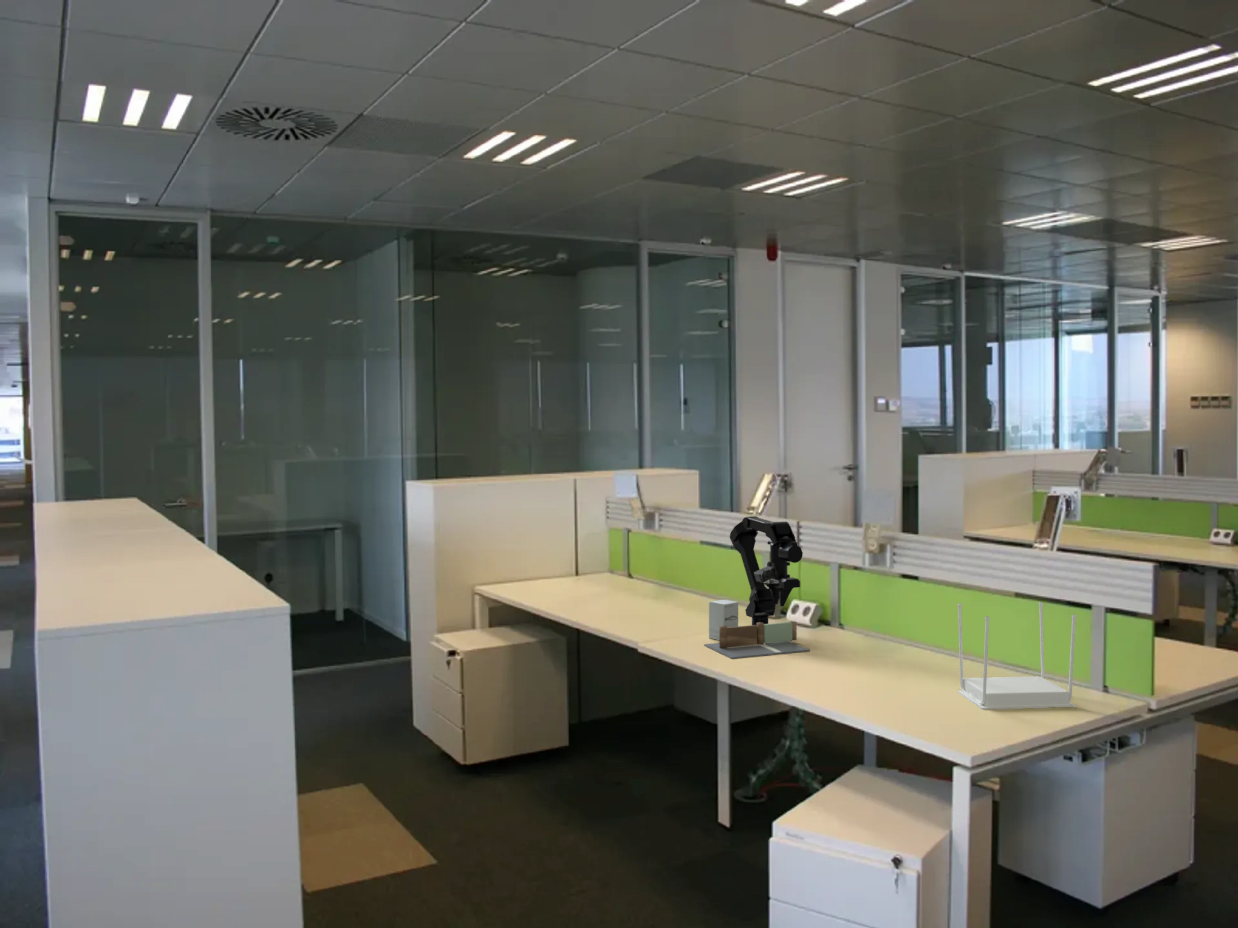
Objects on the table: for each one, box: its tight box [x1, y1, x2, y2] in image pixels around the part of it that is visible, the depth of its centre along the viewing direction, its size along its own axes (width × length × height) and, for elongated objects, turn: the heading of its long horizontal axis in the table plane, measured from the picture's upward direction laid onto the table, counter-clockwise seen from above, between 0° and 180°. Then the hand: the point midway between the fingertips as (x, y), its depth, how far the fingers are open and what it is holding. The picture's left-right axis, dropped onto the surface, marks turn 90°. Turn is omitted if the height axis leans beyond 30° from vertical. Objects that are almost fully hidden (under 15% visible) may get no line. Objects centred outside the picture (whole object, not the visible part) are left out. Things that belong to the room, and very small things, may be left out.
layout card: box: [703, 641, 811, 660], centre depth 335 cm, size 20×28×1 cm
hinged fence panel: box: [764, 620, 798, 643], centre depth 341 cm, size 2×12×6 cm, turn 110°
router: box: [957, 601, 1077, 711], centre depth 272 cm, size 19×25×24 cm
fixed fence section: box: [718, 622, 764, 649], centre depth 336 cm, size 2×16×7 cm, turn 110°
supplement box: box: [708, 599, 739, 641], centre depth 350 cm, size 7×7×13 cm
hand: (778, 605), depth 345 cm, fingers open, 4 cm apart
